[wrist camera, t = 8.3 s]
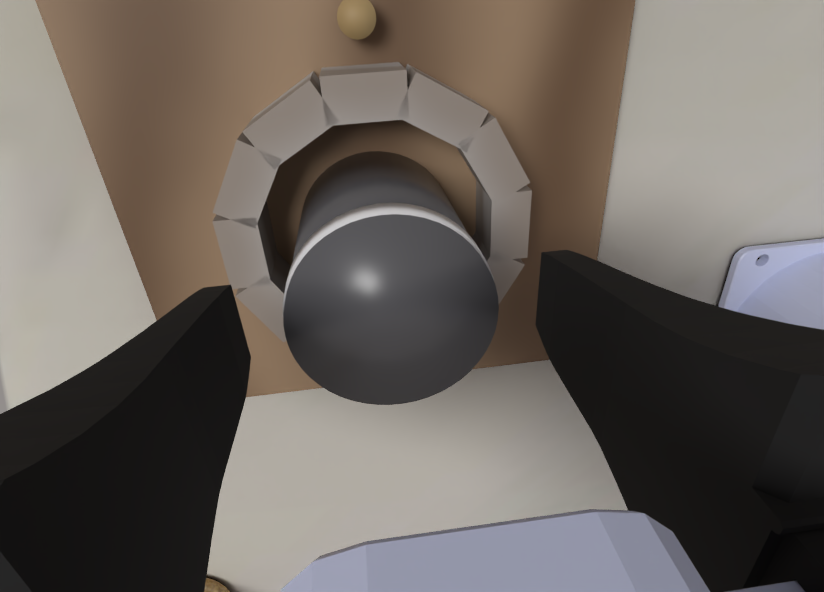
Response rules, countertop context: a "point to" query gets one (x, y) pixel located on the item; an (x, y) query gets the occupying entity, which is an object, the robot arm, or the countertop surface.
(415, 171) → the lens
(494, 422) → the countertop surface
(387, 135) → the mount board
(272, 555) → the countertop surface
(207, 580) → the sprinkles bottle
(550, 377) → the countertop surface
